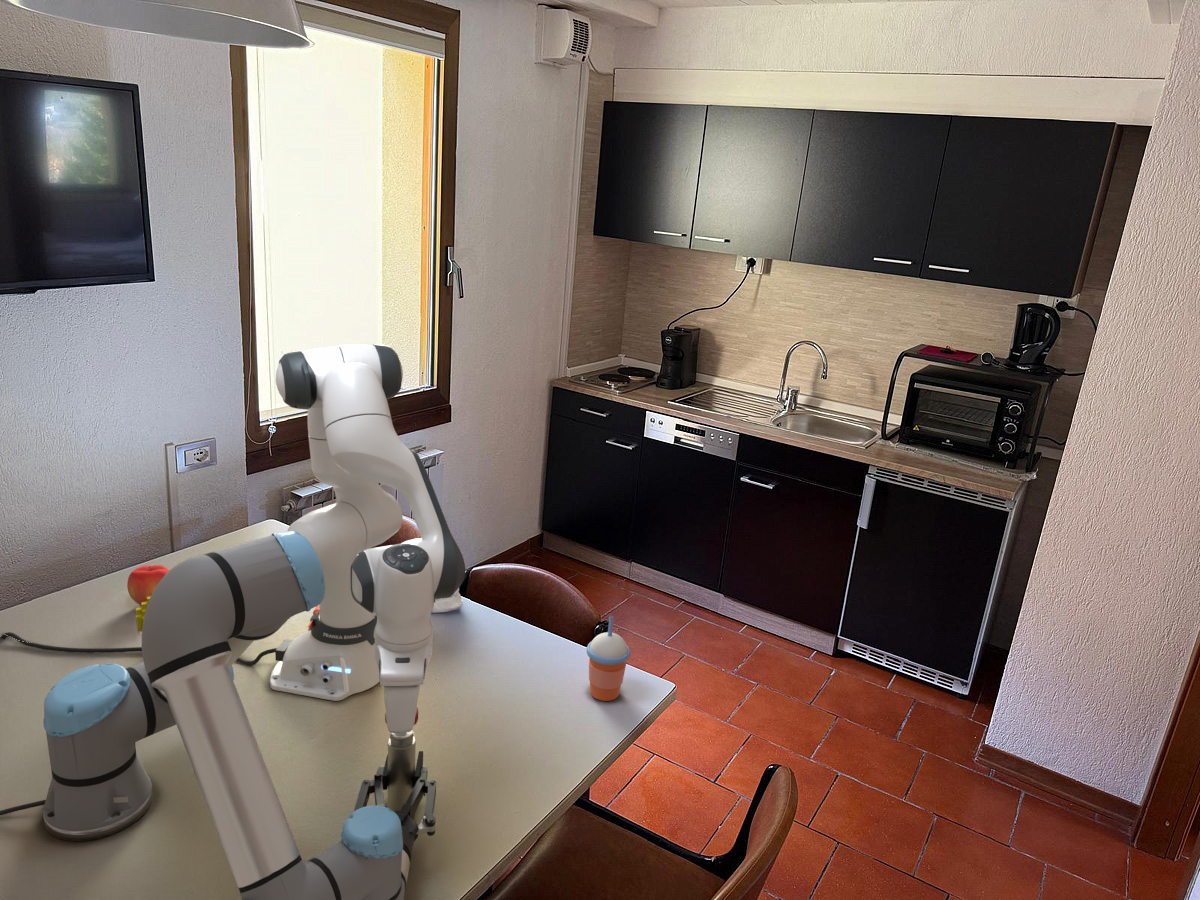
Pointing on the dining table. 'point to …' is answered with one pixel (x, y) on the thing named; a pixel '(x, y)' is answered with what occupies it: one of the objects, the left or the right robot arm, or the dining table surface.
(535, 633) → the dining table surface
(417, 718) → the lid
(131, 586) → the apple
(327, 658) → the right robot arm
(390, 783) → the jar
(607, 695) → the cup with straw
